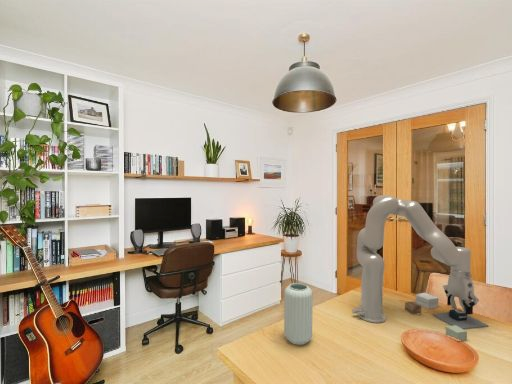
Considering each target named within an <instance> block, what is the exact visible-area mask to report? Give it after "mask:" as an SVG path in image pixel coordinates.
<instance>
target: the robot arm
mask: <svg viewBox="0 0 512 384" xmlns="http://www.w3.org/2000/svg"><path fill="white" fill-rule="evenodd" d="M390 215H394V216H399V217H405V219H406V220H407V221H408V223H409V224H410V225H411V227H412V228H413V230H414V231H415V232H416V234H417V235H418V236H419V237H420V238H421V239H423V240H424V241H426V242H427V243H429V244H430V245H431V246H432V248H431V250H430V256H431V257H432V258H433V259H434V260H436V261H438V262H440V263H442V264H444V265H447V266H450V273H449V275H448V278H447V279H448V280H447V284H446V285H443V286H442V288H443V290H444V293H445V295H446V298H447V299H446V300H447V301H446V302H447V304H446V305H447V306H451V303H450V298H451V296H452V295H453V296H455V297H454V298H458V299H459V298H460V299H462V300H465V302H466V304H467V306H466V314H467V315H469V316H470V315H473V313H474V307H475V306H476V305H477V304H478V303H479V301H480V299H479V298H478V296H476V295H475V288H474V281H473V279H472V277H473V275H472V274H471V271H472V270H471V262H472V261H471V260H472V257H471V256H472V252H471V250H470V248H468V247H464V246H456V245H455V244H454V243H453V242H452V240H451V239H450V238H449V237H448V236H447V235H446V234H445V233H444V232H443V231H442V230H441V229H440V228H438V227H437V226H436V224H435V223H434V222H433V221H432V219H431V217H430V216H429V215H428V214H427V212H426V211H425V209H424V208H423V207H422V205H421V204H420V202H418V201H416V200H415V201H414V200H409V199H400V198H397V197H395V196H393V195H385V194H381V195H377V196H376V197H375V198H374V199H373V201H372V206H371V207H370V209H369V210H368V212H367V214H366V218H365V226H364V228H362V229H360V231H359V232H358V235H357V240H356V241H357V243H356V260H357V262H358V263H359V264H360V266H361V267H362V273H361V282H360V283H361V291H360V293H361V295H360V296H361V297H360V301H361V302H360V305H358V308H353V309H351V313H352V314H357V316H358V318H360V319H361V320H364V321H366V322H369V323H373V324H375V323H376V324H377V323H379V324H380V323H381V324H382V323H384V322H385V321H386V320H387V319H386V318H387V316H386V314H384V313H383V301H384V299H383V296H384V295H383V294H384V293H383V292H384V291H383V289H384V288H383V286H384V281H383V280H384V273H385V267H386V265H385V260H384V258H383V257H382V256H381V254H379V253H377V250H380V249H381V248H382V247H383V246H384V243H385V242H384V241H385V226H386V220H387V218H388V217H389V216H390ZM469 302H470V303H469Z"/></svg>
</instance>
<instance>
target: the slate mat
mask: <svg viewBox="0 0 512 384" xmlns="http://www.w3.org/2000/svg"><path fill="white" fill-rule="evenodd" d="M432 316H433V317H435V318H437V319H439V320H440V321H442V322H444V323H446V324H447V325H448V326H453V325H456V326H458V327H460V328H462V329H464V330H470V329H471V330H472V329H478V328H487V327H489V324H486V323H485V322H483V321H481V320H478V319H477V318H475V317H472V316H470V314H469V315H467V320H461V321H457V320H455V319H453V318H451V317H450V316H449V311H448V312H437V313H432Z"/></svg>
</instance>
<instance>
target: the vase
mask: <svg viewBox="0 0 512 384" xmlns="http://www.w3.org/2000/svg"><path fill="white" fill-rule="evenodd" d="M283 295H284V298H283V299H284V300H283V301H284V307H283V311H284V312H283V314H284V315H283V318H284V319H283V321H284V322H283V323H284V324H283V328H284V329H283V334H284V336H285V338H286V340H287V341H289V342H290V343H291V344H293V345H298V346H299V345H300V346H301V345H305V344H307V343H309V342H310V341H311V339H312V338H313V304H314V303H313V290H312V289H311V288H310V286H308V284H305V283H301V282H292V283H290V284H289V285H287V286H286V287H285V289H284V293H283Z"/></svg>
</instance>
